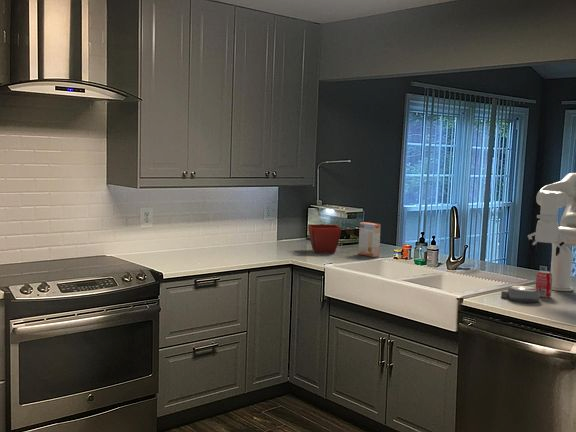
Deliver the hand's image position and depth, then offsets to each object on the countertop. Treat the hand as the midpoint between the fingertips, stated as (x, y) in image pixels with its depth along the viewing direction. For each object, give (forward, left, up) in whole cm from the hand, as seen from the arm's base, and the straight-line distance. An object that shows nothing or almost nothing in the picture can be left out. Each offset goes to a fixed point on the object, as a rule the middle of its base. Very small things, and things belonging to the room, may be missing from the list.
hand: (545, 254), depth 301 cm
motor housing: (+14, -8, -20) cm, 26 cm away
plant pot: (-54, -141, -20) cm, 152 cm away
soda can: (0, 0, -20) cm, 21 cm away
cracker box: (-58, -111, -20) cm, 127 cm away
